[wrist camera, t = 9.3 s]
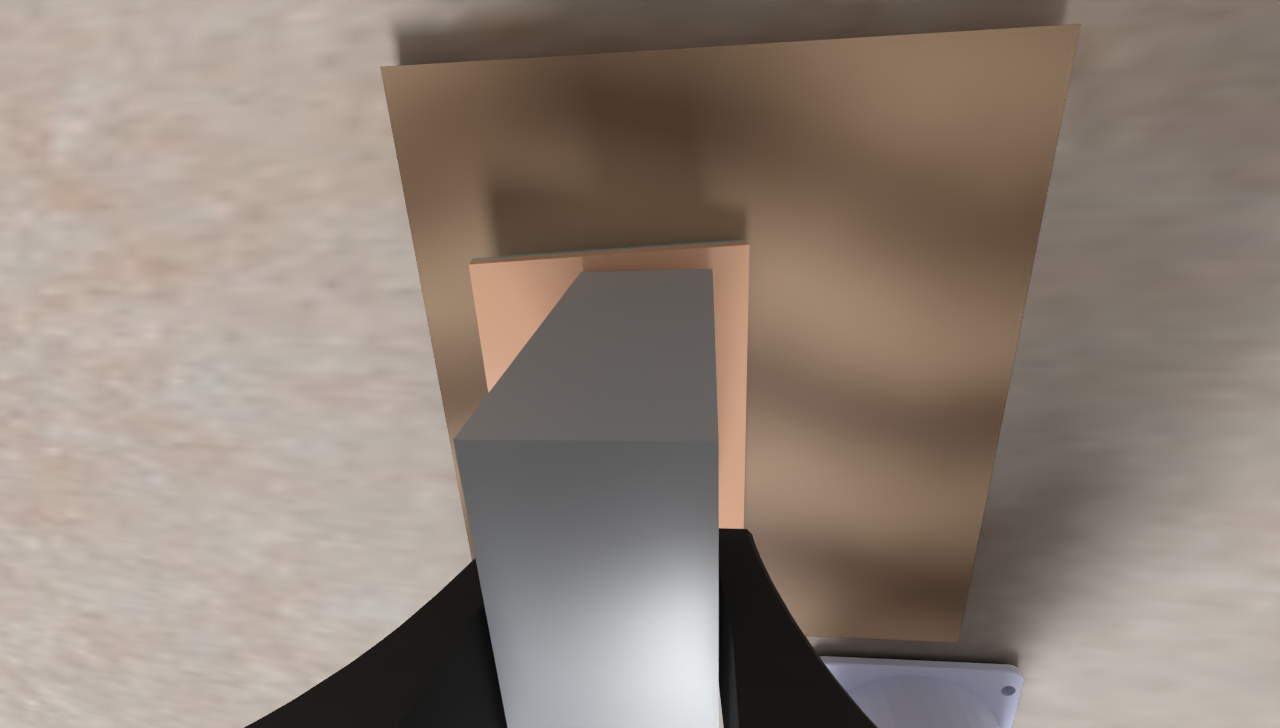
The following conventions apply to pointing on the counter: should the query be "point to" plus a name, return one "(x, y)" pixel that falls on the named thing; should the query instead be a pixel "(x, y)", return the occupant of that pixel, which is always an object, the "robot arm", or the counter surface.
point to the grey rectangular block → (603, 508)
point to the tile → (534, 283)
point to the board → (782, 265)
